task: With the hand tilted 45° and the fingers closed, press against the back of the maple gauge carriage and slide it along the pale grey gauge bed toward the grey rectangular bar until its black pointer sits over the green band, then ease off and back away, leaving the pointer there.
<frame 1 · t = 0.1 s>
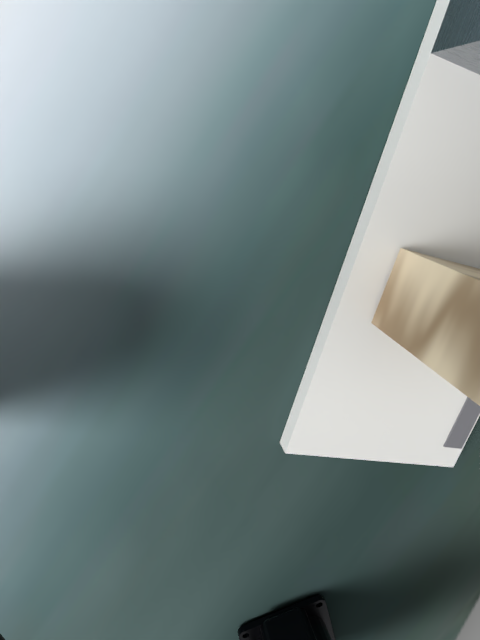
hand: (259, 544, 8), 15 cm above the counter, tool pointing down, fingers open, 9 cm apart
gauge bed: (441, 276, 24), on the counter
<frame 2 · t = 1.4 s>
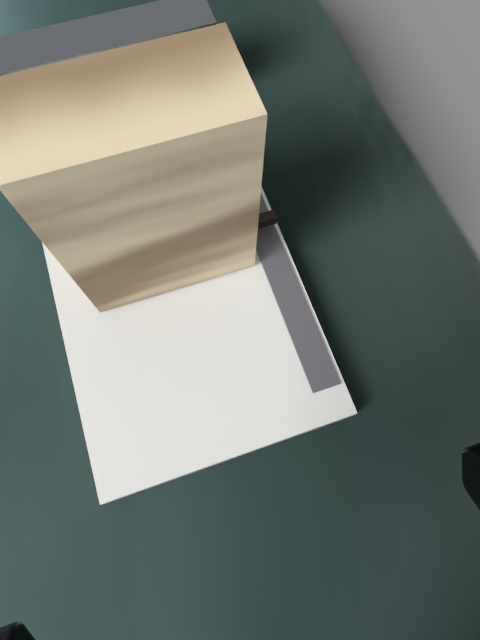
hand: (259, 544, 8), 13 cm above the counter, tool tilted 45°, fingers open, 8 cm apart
gauge carriage: (171, 190, 18), point 6 cm above the counter, slide at 0.0 cm
gauge bed: (166, 249, 24), on the counter
grey rectangular bar: (116, 95, 27), resting on gauge bed
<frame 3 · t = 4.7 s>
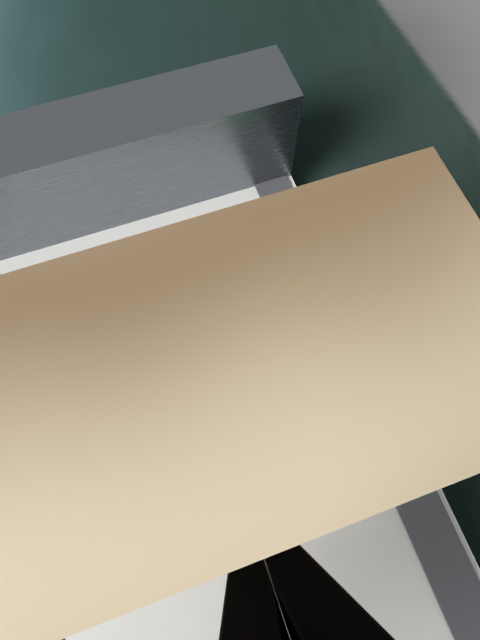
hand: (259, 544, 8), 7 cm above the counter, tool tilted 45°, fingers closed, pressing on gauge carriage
gauge carriage: (259, 415, 10), point 6 cm above the counter, slide at 0.5 cm, touching gripper
gauge bed: (223, 439, 16), on the counter
grey rectangular bar: (142, 192, 18), resting on gauge bed
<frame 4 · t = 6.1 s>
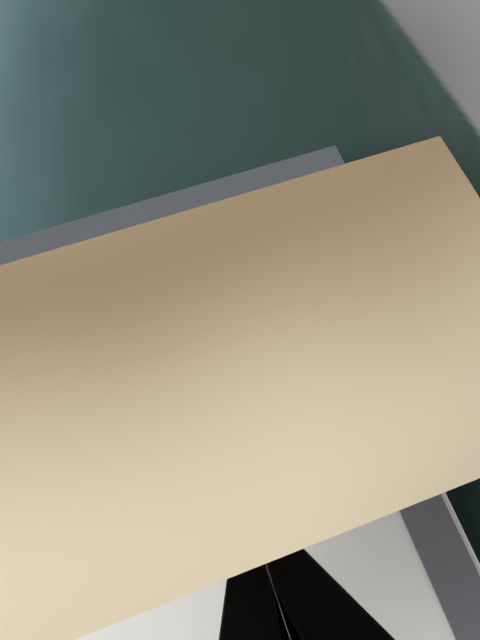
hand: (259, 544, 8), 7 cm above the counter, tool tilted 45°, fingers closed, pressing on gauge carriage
gauge carriage: (259, 413, 10), point 6 cm above the counter, slide at 5.5 cm, touching gripper
gauge bed: (274, 593, 14), on the counter
grey rectangular bar: (175, 293, 16), resting on gauge bed
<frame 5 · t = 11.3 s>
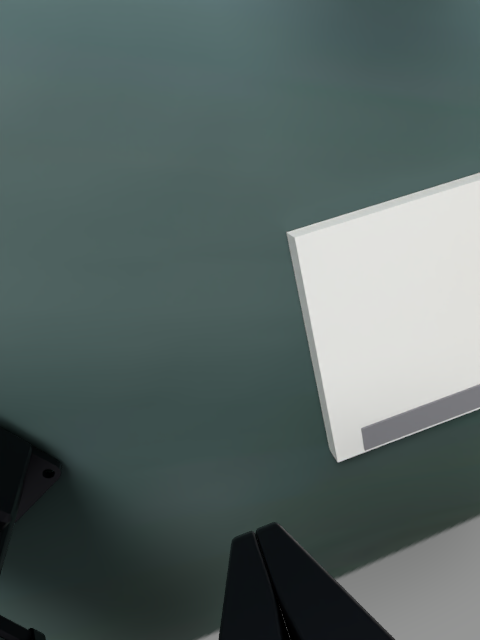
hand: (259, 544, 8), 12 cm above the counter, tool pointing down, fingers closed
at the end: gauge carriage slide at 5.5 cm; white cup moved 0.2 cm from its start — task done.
